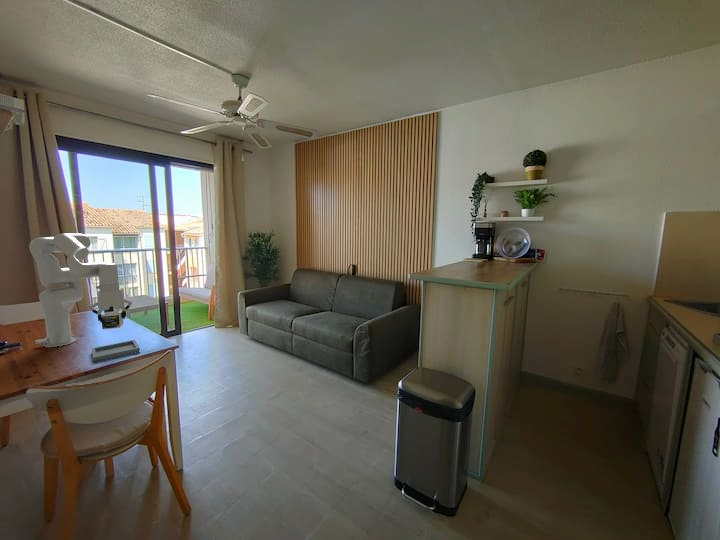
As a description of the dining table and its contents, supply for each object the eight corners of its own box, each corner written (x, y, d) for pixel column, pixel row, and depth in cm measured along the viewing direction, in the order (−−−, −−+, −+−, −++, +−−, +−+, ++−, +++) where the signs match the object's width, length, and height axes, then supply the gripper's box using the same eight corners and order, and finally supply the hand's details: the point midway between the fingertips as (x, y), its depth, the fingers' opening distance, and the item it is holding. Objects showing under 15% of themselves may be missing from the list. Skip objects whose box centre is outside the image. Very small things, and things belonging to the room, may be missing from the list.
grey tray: (93, 362, 140) (93, 357, 140) (92, 352, 151) (91, 348, 151) (139, 352, 153) (139, 347, 152) (135, 343, 164) (134, 339, 163)
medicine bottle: (102, 329, 145) (99, 306, 144) (106, 325, 152) (104, 303, 150) (120, 327, 149) (118, 305, 147) (123, 323, 155) (121, 302, 153)
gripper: (86, 290, 139) (90, 325, 141) (132, 286, 151) (134, 318, 153) (86, 288, 144) (89, 321, 146) (130, 284, 156) (132, 315, 158)
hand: (112, 319), depth 150 cm, fingers closed on medicine bottle, 8 cm apart
